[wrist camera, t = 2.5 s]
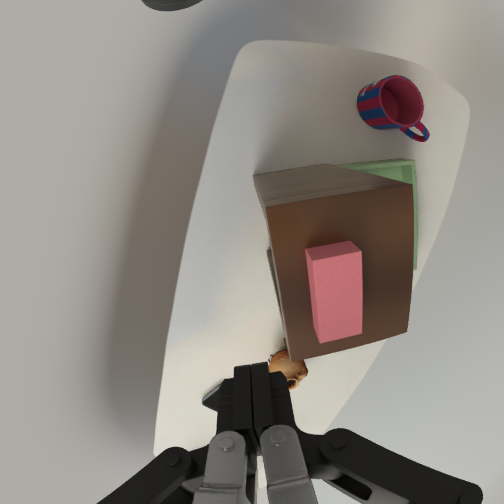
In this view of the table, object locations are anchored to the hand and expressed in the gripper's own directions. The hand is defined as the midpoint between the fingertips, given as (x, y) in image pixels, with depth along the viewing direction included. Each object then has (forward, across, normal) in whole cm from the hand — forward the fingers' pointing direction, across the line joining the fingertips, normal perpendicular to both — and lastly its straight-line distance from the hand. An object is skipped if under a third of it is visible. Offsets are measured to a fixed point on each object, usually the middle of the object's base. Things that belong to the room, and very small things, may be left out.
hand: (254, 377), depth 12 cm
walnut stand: (+28, -7, 0) cm, 29 cm away
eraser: (+7, -6, 0) cm, 9 cm away
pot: (+28, -2, +23) cm, 37 cm away
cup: (+28, -22, -12) cm, 38 cm away
